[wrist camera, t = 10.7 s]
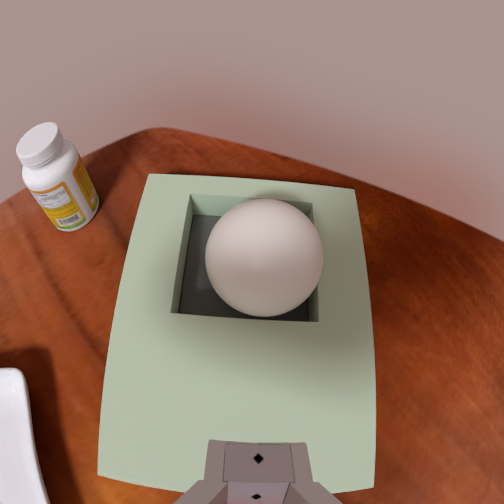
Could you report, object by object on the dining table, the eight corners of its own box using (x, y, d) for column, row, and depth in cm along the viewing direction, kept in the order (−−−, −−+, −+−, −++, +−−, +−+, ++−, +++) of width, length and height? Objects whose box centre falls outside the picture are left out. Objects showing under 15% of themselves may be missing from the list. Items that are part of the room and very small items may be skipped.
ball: (349, 302, 22) (262, 311, 27) (331, 194, 23) (249, 219, 28) (288, 324, 16) (189, 327, 21) (266, 172, 17) (175, 211, 22)
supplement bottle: (77, 181, 29) (45, 110, 21) (110, 200, 28) (78, 124, 20) (43, 218, 27) (-1, 152, 18) (74, 242, 26) (26, 172, 17)
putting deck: (344, 209, 30) (354, 189, 27) (357, 480, 18) (373, 487, 16) (154, 195, 29) (148, 173, 26) (112, 468, 17) (97, 474, 15)
